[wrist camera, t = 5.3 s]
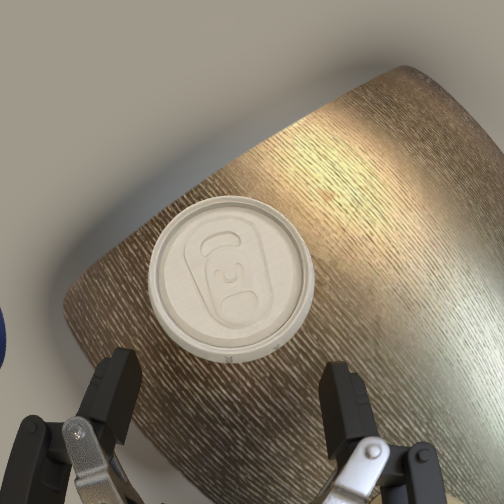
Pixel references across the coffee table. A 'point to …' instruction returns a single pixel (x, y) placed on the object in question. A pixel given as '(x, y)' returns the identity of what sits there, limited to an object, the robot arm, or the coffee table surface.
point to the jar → (451, 500)
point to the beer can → (230, 279)
